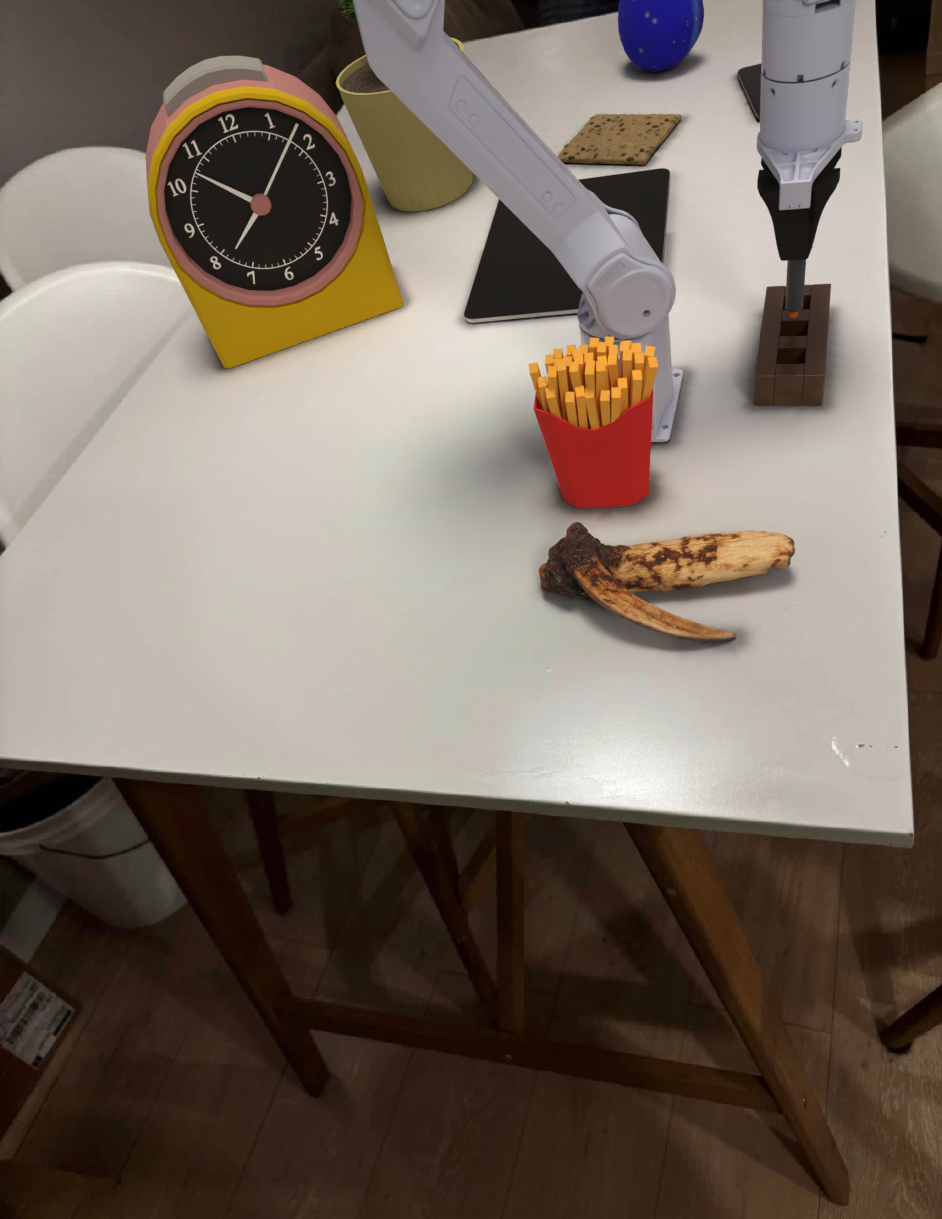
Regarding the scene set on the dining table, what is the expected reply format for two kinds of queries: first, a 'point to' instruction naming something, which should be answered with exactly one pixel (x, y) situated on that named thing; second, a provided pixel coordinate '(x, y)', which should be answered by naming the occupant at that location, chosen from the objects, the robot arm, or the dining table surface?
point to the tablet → (528, 270)
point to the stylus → (795, 286)
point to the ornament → (659, 31)
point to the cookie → (619, 138)
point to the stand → (792, 348)
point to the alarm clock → (263, 209)
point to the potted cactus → (400, 141)
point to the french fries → (598, 420)
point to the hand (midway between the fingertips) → (795, 251)
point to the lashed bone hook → (658, 572)
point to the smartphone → (752, 85)
